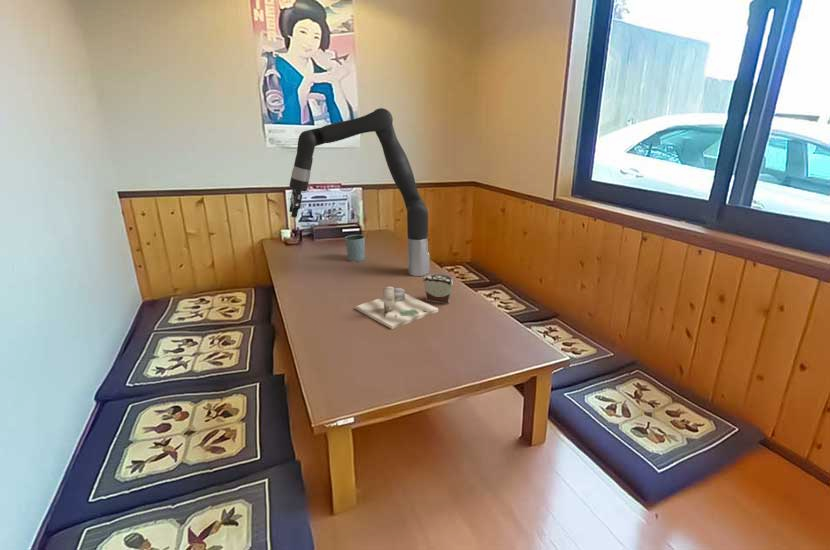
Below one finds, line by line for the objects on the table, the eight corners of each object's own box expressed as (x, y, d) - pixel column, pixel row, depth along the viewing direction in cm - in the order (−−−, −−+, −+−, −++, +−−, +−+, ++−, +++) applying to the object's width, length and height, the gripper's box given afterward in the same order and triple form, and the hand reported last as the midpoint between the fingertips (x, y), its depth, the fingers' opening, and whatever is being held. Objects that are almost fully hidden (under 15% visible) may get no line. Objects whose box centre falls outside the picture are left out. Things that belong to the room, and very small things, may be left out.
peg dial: (392, 294, 179) (391, 275, 176) (406, 295, 178) (406, 276, 175) (378, 313, 162) (376, 292, 159) (393, 314, 161) (392, 293, 158)
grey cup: (369, 258, 230) (368, 236, 226) (357, 263, 222) (356, 240, 218) (354, 255, 236) (353, 233, 232) (342, 260, 228) (340, 238, 224)
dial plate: (400, 294, 183) (400, 291, 183) (438, 311, 167) (438, 308, 166) (355, 309, 170) (355, 305, 169) (392, 329, 153) (391, 325, 153)
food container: (457, 298, 178) (457, 275, 174) (451, 304, 172) (452, 280, 169) (429, 294, 183) (429, 271, 179) (423, 299, 177) (422, 276, 174)
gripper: (311, 183, 183) (303, 220, 188) (306, 177, 195) (299, 212, 200) (293, 179, 180) (285, 217, 185) (289, 173, 192) (282, 208, 197)
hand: (292, 214), depth 192 cm, fingers open, 8 cm apart
